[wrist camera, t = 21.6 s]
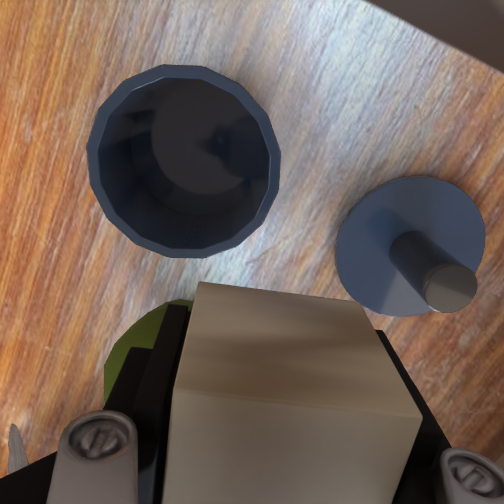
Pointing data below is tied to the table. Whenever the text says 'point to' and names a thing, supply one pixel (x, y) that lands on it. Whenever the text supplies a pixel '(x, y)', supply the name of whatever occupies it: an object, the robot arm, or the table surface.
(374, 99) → the table surface
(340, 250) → the lid
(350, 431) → the block
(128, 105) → the pot
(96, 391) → the table surface
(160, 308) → the apple
